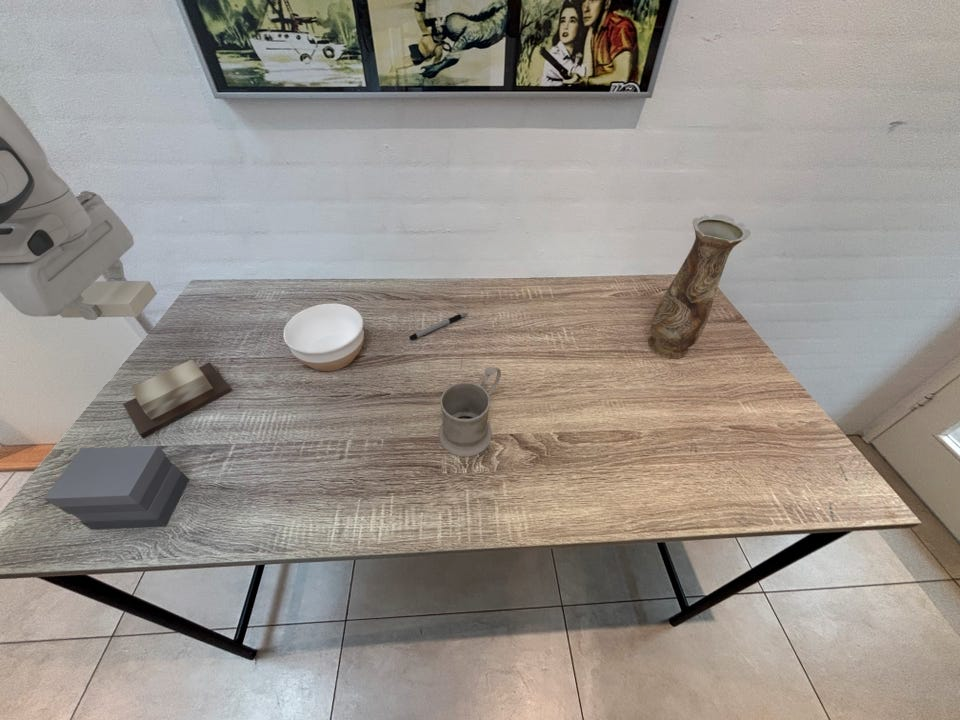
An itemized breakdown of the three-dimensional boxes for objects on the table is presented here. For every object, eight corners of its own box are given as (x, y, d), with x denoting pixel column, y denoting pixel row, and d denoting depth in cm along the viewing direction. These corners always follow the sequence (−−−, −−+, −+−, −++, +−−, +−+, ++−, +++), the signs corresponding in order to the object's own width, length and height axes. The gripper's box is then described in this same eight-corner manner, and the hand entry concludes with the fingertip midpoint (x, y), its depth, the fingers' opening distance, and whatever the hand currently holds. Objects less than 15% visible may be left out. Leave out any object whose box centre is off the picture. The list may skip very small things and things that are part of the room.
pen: (409, 339, 95) (408, 334, 94) (466, 313, 102) (466, 309, 101) (412, 342, 94) (411, 337, 93) (469, 316, 101) (469, 311, 100)
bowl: (384, 351, 91) (378, 323, 86) (323, 392, 82) (313, 364, 77) (339, 321, 98) (332, 294, 93) (279, 356, 89) (267, 328, 84)
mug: (467, 466, 71) (467, 425, 63) (427, 435, 76) (423, 393, 67) (516, 417, 79) (523, 375, 71) (478, 391, 84) (480, 349, 75)
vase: (700, 354, 93) (768, 232, 72) (665, 367, 90) (725, 244, 69) (667, 327, 100) (721, 208, 79) (633, 338, 97) (680, 218, 76)
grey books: (90, 529, 62) (43, 498, 55) (120, 481, 68) (80, 448, 61) (166, 526, 63) (128, 495, 56) (189, 479, 68) (158, 445, 61)
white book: (62, 317, 62) (50, 304, 60) (86, 294, 66) (76, 281, 64) (137, 316, 62) (128, 303, 61) (157, 293, 67) (149, 280, 65)
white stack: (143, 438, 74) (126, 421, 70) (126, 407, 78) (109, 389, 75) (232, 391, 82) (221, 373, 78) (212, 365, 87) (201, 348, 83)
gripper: (70, 185, 61) (125, 265, 71) (-48, 258, 47) (42, 346, 56) (114, 185, 61) (162, 265, 71) (10, 258, 47) (89, 345, 57)
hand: (108, 302), depth 64 cm, fingers closed on white book, 6 cm apart
